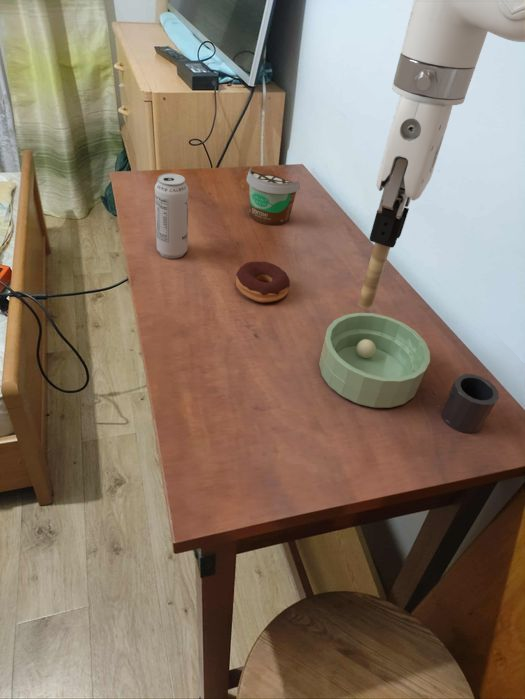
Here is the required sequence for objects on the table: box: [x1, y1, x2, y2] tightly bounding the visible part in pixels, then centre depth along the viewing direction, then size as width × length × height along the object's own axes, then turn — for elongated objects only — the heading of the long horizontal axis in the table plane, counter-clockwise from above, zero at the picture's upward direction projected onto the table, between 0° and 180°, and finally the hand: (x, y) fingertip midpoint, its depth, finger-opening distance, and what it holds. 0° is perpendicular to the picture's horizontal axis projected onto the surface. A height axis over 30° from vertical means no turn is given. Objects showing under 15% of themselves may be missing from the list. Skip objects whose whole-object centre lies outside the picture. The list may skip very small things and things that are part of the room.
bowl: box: [318, 312, 431, 409], centre depth 78 cm, size 16×16×6 cm
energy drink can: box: [154, 172, 189, 259], centre depth 96 cm, size 6×6×15 cm
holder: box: [440, 373, 500, 434], centre depth 73 cm, size 6×6×6 cm
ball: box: [356, 339, 376, 358], centre depth 81 cm, size 3×3×3 cm
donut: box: [235, 260, 291, 304], centre depth 93 cm, size 10×10×4 cm
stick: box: [357, 198, 401, 310], centre depth 66 cm, size 2×2×16 cm
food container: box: [246, 166, 301, 226], centre depth 113 cm, size 12×6×10 cm, turn 68°
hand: (384, 238), depth 64 cm, fingers closed on stick, 2 cm apart
